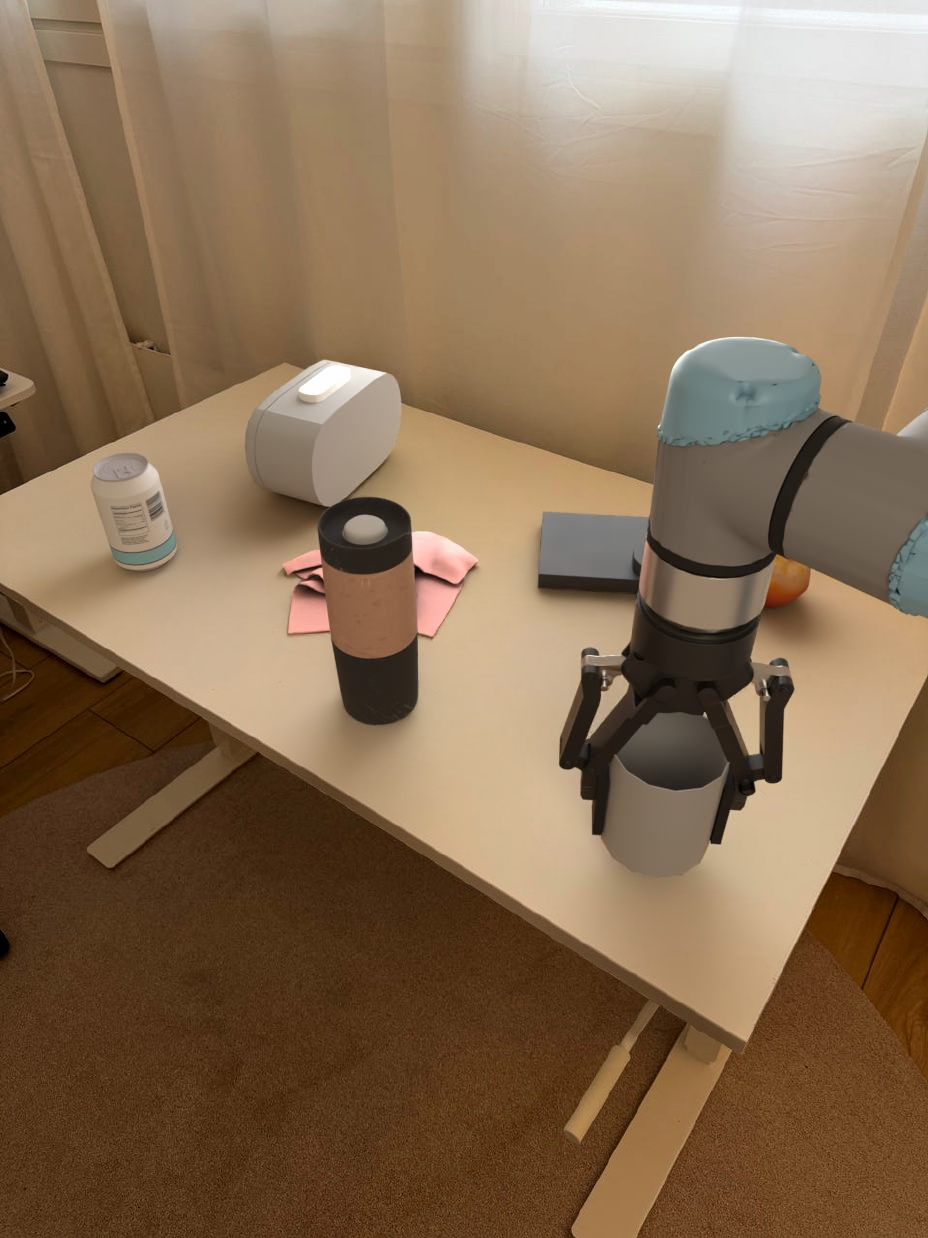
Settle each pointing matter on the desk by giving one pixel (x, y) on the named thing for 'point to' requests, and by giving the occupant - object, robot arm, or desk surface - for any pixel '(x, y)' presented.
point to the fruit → (786, 582)
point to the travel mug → (371, 606)
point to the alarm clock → (323, 432)
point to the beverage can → (133, 511)
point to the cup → (664, 795)
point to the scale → (591, 552)
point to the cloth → (434, 584)
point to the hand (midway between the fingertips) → (654, 825)
